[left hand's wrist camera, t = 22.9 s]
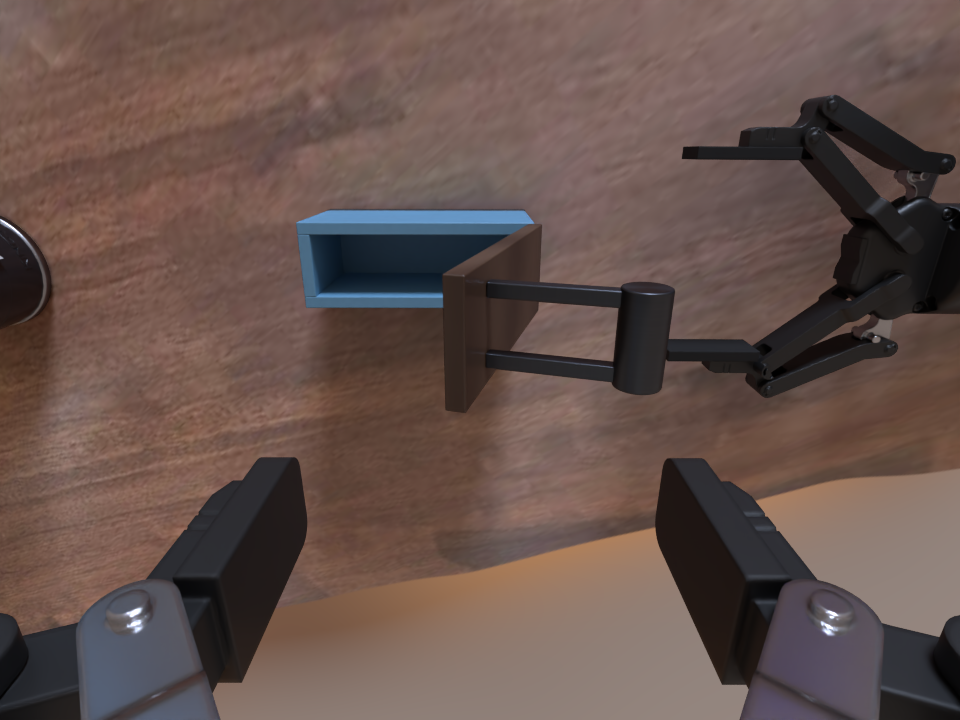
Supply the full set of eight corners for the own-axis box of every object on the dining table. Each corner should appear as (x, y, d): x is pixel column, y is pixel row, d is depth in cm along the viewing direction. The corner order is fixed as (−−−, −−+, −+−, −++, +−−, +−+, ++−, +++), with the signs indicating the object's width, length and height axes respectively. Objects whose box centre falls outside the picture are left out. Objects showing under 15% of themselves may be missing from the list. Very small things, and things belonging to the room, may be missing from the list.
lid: (444, 411, 22) (660, 440, 19) (441, 273, 20) (682, 289, 17) (525, 309, 36) (656, 320, 33) (528, 223, 34) (667, 228, 31)
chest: (337, 279, 44) (305, 308, 36) (330, 209, 42) (295, 222, 34) (521, 280, 44) (531, 308, 36) (524, 209, 42) (534, 222, 34)
